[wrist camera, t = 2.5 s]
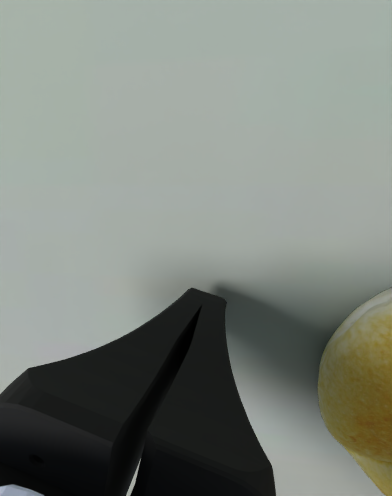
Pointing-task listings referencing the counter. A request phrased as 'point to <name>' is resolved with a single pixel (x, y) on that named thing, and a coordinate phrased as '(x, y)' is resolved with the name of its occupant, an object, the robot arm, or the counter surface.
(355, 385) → the bread roll
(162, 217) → the counter surface
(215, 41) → the counter surface
